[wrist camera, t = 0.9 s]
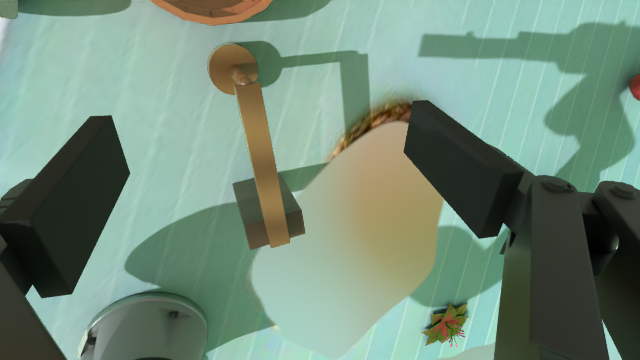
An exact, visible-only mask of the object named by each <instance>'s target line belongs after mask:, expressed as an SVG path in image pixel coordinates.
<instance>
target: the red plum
mask: <svg viewBox="0 0 640 360" xmlns="http://www.w3.org/2000/svg"><path fill="white" fill-rule="evenodd" d="M630 90H631V92H632V94H633V97H634V98H636V99H637V100H639V101H640V73H639V74H638V75H636V76H635V77H634V78H632V79H631V80H630Z"/></svg>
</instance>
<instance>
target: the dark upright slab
mask: <svg viewBox="0 0 640 360" xmlns="http://www.w3.org/2000/svg"><path fill="white" fill-rule="evenodd" d="M277 175H278V180H279V185H280V191H281V196H282V201H283V207H284V212H285V217H286V223H287V228H288V233H289V238H291V237H295V236H298V235H301V234H305V228H304V222H303V216H302V210H301V209H300V207H299V205H298V204H297V202H296V200H295V198H294V197H293V195H292V193H291V192H290V190H289V188H288V187H287V185H286V183H285V182H284V180H283V179H282V177H281V175H280V174H279V172H278V173H277ZM233 188H234V192H235V196H236V200H237V204H238V207H239V211H240V215H241V218H242V222H243V225H244V229H245V233H246V236H247V240H248V244H249V247H250V250H252V249H255V248H259V247H262V246H265V245H268V244H269V241H268V237H267V232H266V228H265V223H264V219H263V215H262V210H261V206H260V201H259V197H258V192H257V188H256V183H255V179H250V180H246V181H242V182H238V183H234V184H233Z"/></svg>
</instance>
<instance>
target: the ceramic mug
mask: <svg viewBox="0 0 640 360" xmlns="http://www.w3.org/2000/svg"><path fill="white" fill-rule="evenodd" d="M17 16H18V0H0V17H3V18H10V19H16V18H17Z"/></svg>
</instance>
